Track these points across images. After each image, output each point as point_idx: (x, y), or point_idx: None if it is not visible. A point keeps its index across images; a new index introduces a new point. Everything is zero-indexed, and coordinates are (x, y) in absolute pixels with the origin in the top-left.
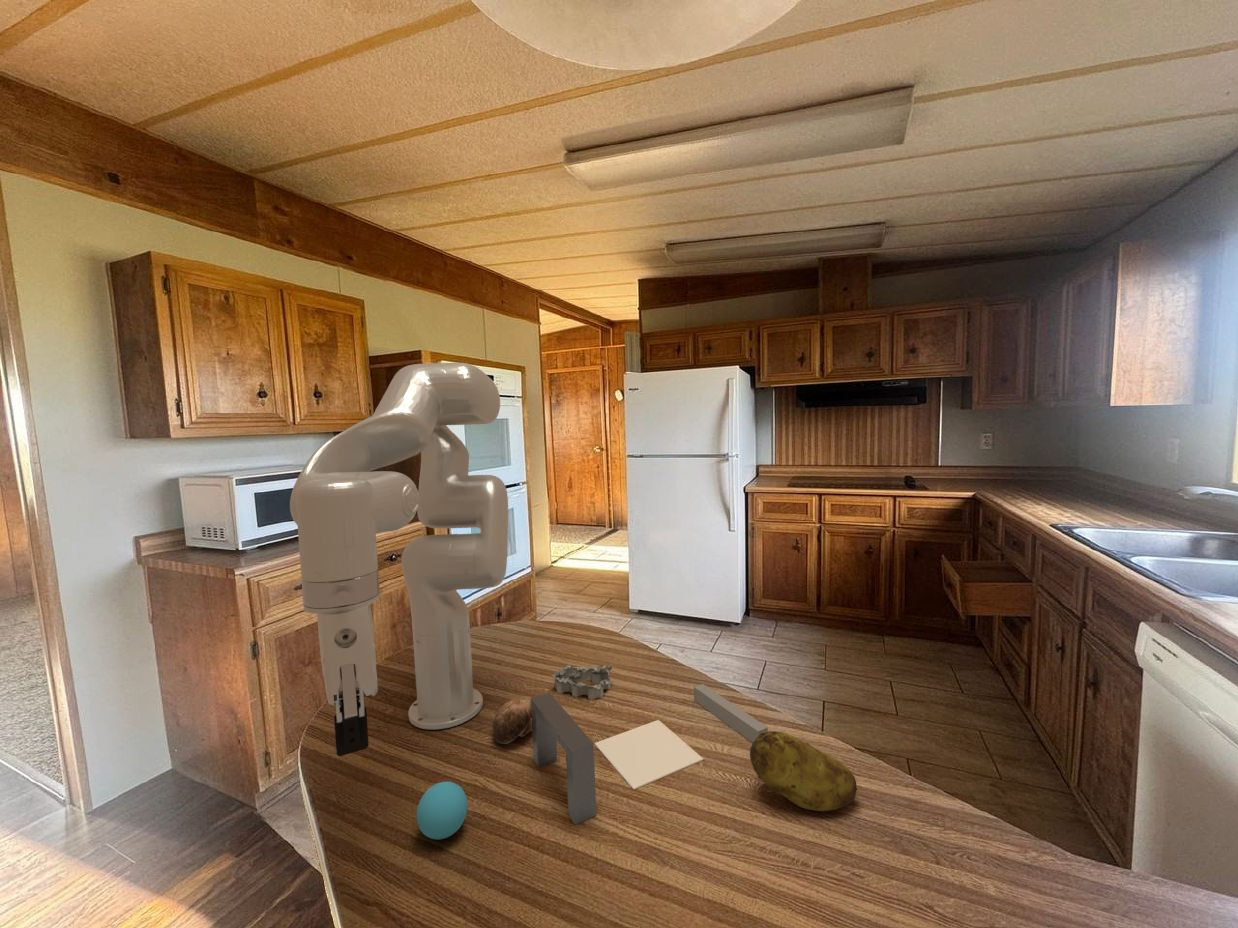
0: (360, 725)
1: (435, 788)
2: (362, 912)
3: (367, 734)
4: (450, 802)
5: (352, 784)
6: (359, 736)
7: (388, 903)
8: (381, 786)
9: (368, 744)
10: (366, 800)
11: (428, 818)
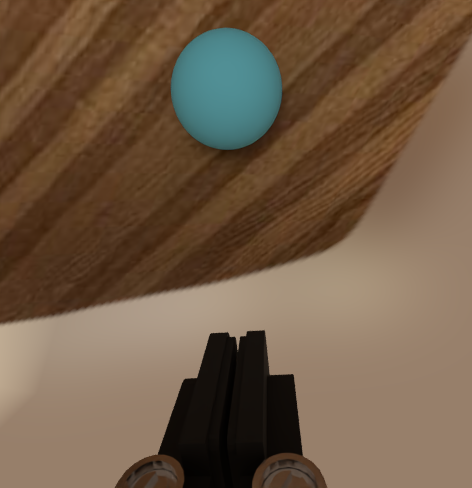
0: (267, 421)
1: (219, 100)
2: (343, 232)
3: (264, 360)
4: (263, 67)
5: (36, 261)
6: (294, 397)
7: (346, 197)
8: (57, 212)
9: (264, 332)
10: (89, 236)
11: (267, 124)
